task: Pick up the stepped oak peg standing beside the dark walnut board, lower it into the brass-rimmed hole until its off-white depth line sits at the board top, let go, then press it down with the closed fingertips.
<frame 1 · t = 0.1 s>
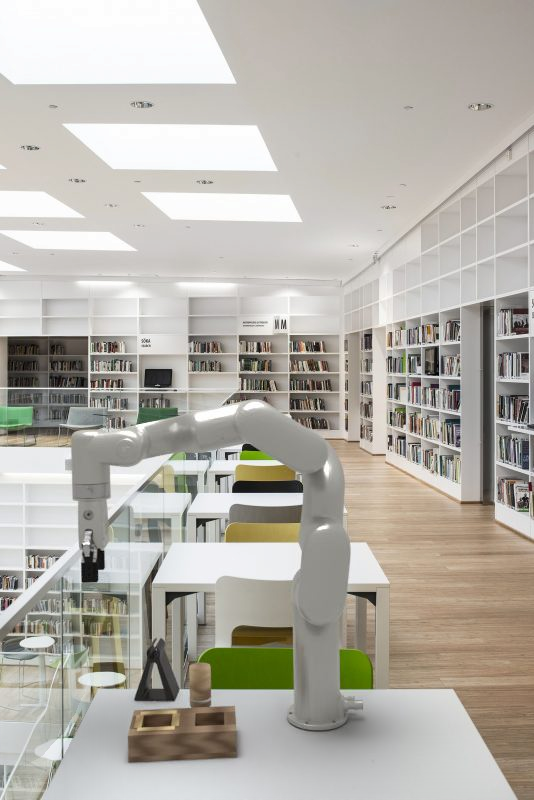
hand: (93, 575, 158), 31 cm above the table, fingers open, 9 cm apart
board: (184, 745, 151), on the table
peg: (200, 718, 163), on the table
phone stand: (157, 696, 175), on the table
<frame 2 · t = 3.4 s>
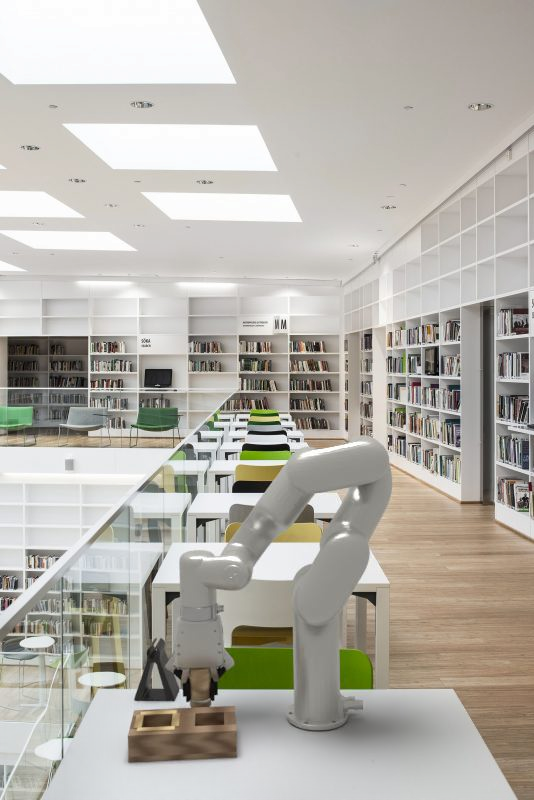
hand: (200, 698, 163), 4 cm above the table, fingers closed on peg, 4 cm apart
peg: (200, 718, 163), on the table, touching gripper
everything else where it was.
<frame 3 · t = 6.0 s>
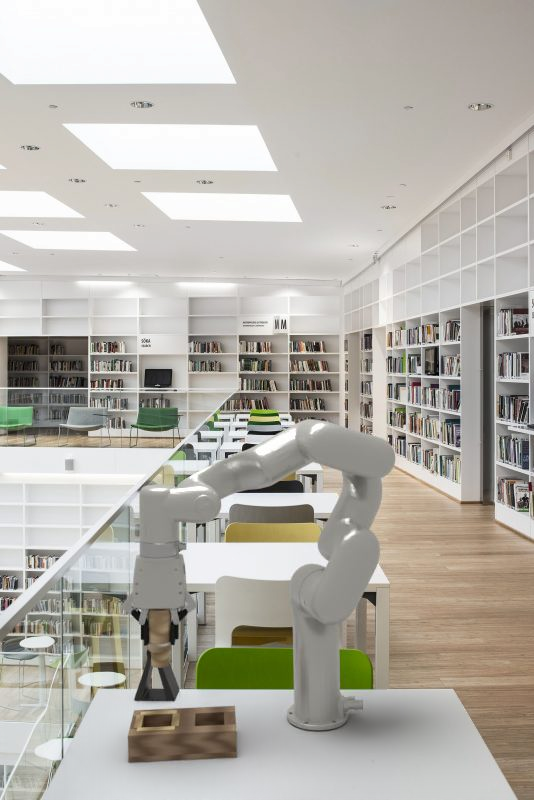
hand: (159, 642, 152), 20 cm above the table, fingers closed on peg, 4 cm apart
peg: (160, 664, 152), point 15 cm above the table, touching gripper
everything else where it was.
when the fingers open (6 cm above the table, at t = 8.7 s): peg stays where it is, resting on board.
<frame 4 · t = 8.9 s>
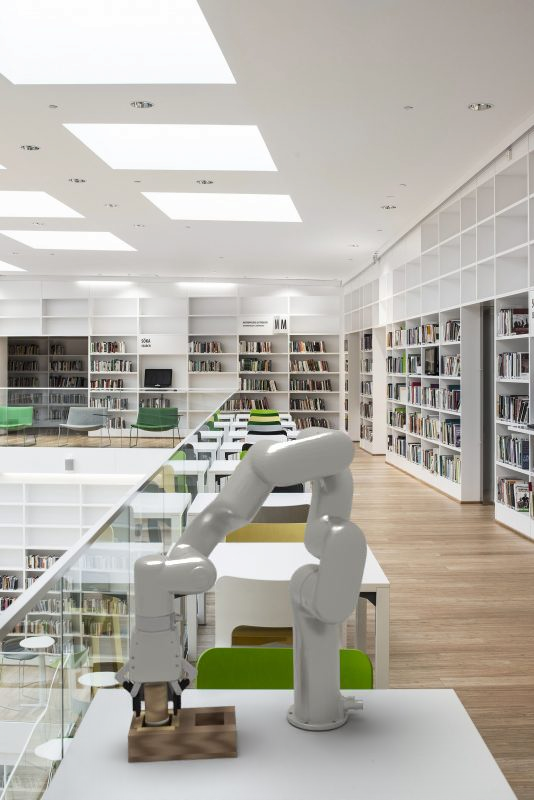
hand: (157, 712, 150), 7 cm above the table, fingers open, 6 cm apart
peg: (158, 741, 151), point 1 cm above the table, touching board
everything else where it was.
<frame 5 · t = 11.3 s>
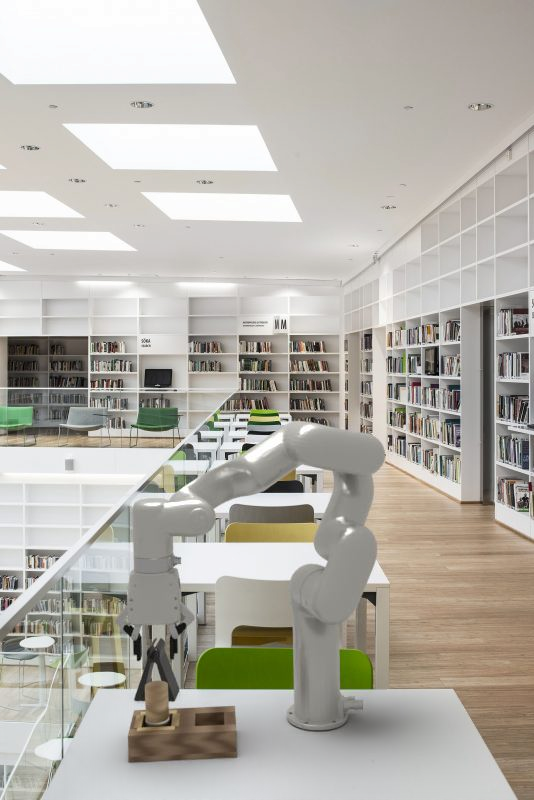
hand: (155, 656, 150), 17 cm above the table, fingers open, 5 cm apart
nothing on the table moved.
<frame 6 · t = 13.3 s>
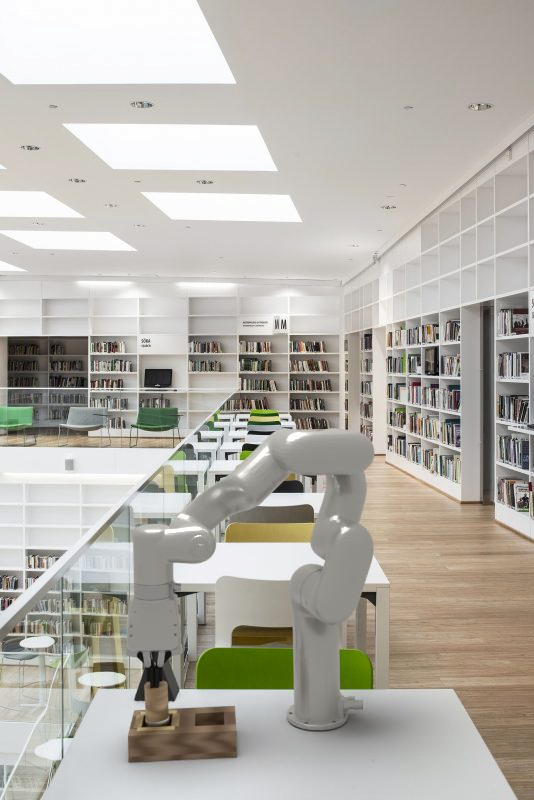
hand: (154, 685, 150), 12 cm above the table, fingers closed
peg: (158, 741, 151), point 1 cm above the table, touching board, gripper
everything else where it was.
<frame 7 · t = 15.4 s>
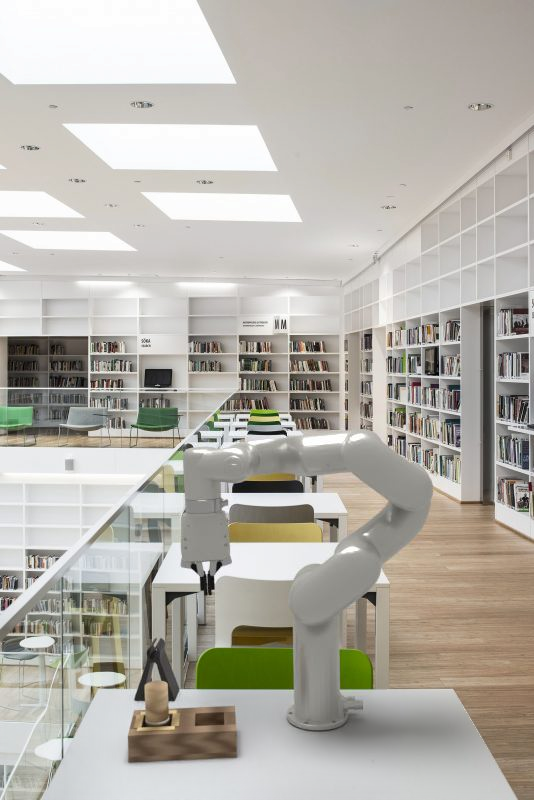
hand: (207, 593, 164), 26 cm above the table, fingers closed
peg: (158, 741, 151), point 1 cm above the table, touching board
everything else where it was.
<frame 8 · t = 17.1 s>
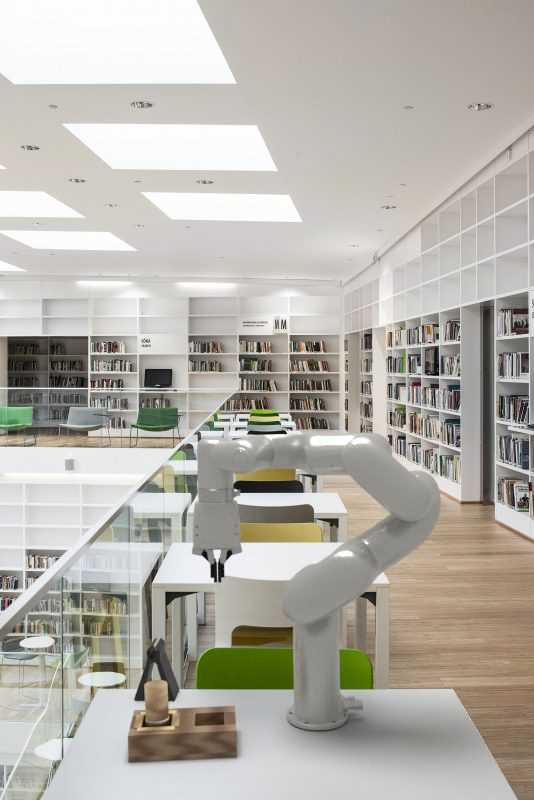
hand: (217, 580, 168), 27 cm above the table, fingers closed
nothing on the table moved.
at the end: peg 0.1 cm from the target spot on the board, point 1.1 cm above the board's base; peg tilted 2°; the gripper is holding nothing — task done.
